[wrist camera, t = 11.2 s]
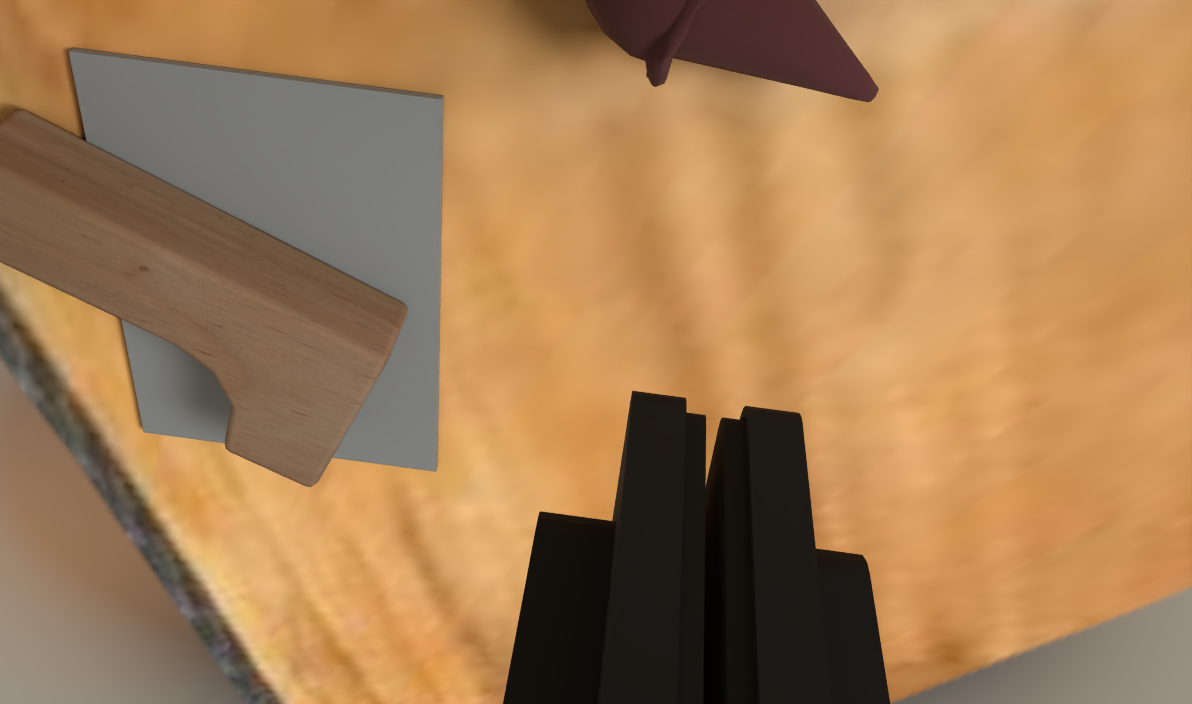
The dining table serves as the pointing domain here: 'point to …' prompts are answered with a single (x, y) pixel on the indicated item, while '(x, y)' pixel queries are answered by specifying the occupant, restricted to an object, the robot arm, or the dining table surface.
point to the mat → (289, 216)
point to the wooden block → (200, 291)
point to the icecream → (738, 40)
